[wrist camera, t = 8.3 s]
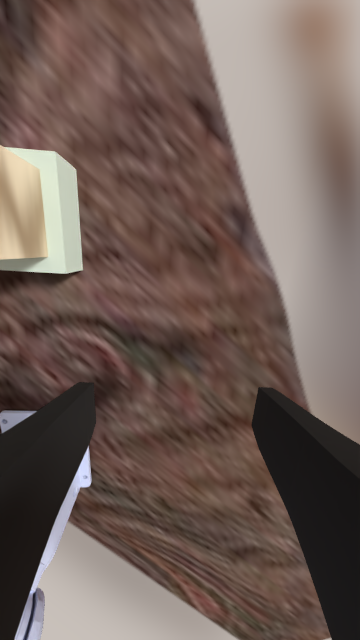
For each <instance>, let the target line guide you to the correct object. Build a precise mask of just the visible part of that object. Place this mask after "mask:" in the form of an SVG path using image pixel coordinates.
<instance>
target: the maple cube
mask: <svg viewBox="0 0 360 640" xmlns="http://www.w3.org/2000/svg"><path fill="white" fill-rule="evenodd" d="M38 257H48V248H47V238H46V228H45V218H44V208H43V198H42V188H41V178H40V169H38V168H36V167H35V166H33V165H32V164H30V163H28V162H27V161H25V160H24V159H22V158H20V157H19V156H17V155H15V154H14V153H12V152H11V151H9V150H7V149H6V148H4V147H3V146H1V145H0V260H1V259H20V258H38Z"/></svg>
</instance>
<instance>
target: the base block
mask: <svg viewBox="0 0 360 640" xmlns="http://www.w3.org/2000/svg"><path fill="white" fill-rule="evenodd" d="M4 148H6V149H7V150H9V151H11V152H12V153H14V154H15V155H17V156H19V157H20V158H22V159H24V160H25V161H27V162H28V163H30V164H32V165H33V166H35V167H36V168H38V169H40V178H41V188H42V198H43V208H44V218H45V228H46V238H47V248H48V257H38V258H20V259H1V260H0V270H8V271H26V272H44V273H62V274H67V273H72V272H76V271H81V270H83V265H82V250H81V235H80V220H79V205H78V190H77V175H76V169H75V168H74V167H73V166H72V165H70V164H69V163H68V162H67V161H66V160H65V159H63V158H62V157H61V156H60V155H59V154H58V153H56V152H54V151H42V150H30V149H19V148H7V147H4Z"/></svg>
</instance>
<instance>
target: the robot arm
mask: <svg viewBox="0 0 360 640" xmlns="http://www.w3.org/2000/svg"><path fill="white" fill-rule="evenodd" d="M6 420H7V421H6ZM95 424H96V415H95V399H94V383H84V382H79V383H77V384H76V385H74V386H73V387H71V388H70V389H68V390H67V391H65V392H64V393H63V394H61V395H60V396H58V397H57V398H55V399H54V400H53V401H51V402H50V403H48V404H47V405H45V406H44V407H42V408H41V409H40V410H38V411H12V410H4V411H2V412H1V413H0V426H1V430H2V434H0V640H40V638H41V634H42V628H43V621H44V606H45V600H44V593H43V591H42V590H41V589H40V588H37V586H38V583H39V581H40V578H41V576H42V573H43V572H44V570H45V569H46V568H47V566H48V565H49V563H50V562H51V560H52V558H53V556H54V554H55V552H56V550H57V547H58V545H59V542H60V539H61V537H62V534H63V532H64V529H65V526H66V524H67V521H68V518H69V516H70V513H71V510H72V508H73V505H74V502H75V500H76V497H77V495H78V492H79V489H80V487H88V486H90V484H91V469H90V456H89V443H90V440H91V437H92V434H93V430H94V427H95ZM252 428H253V432H254V435H255V438H256V441H257V444H258V447H259V450H260V452H261V454H262V456H263V459H264V461H265V463H266V465H267V468H268V470H269V472H270V474H271V476H272V478H273V481H274V483H275V485H276V487H277V489H278V491H279V494H280V496H281V498H282V500H283V502H284V505H285V507H286V509H287V511H288V514H289V516H290V519H291V521H292V524H293V526H294V529H295V532H296V535H297V537H298V540H299V543H300V546H301V548H302V551H303V554H304V557H305V560H306V563H307V565H308V568H309V571H310V574H311V577H312V580H313V583H314V586H315V589H316V592H317V595H318V598H319V601H320V604H321V607H322V610H323V613H324V616H325V619H326V623H327V626H328V629H329V632H330V635H331V638H332V640H360V445H359V444H357V443H356V442H354V441H352V440H351V439H349V438H347V437H346V436H344V435H343V434H341V433H340V432H338V431H336V430H335V429H333V428H332V427H330V426H328V425H327V424H325V423H324V422H322V421H321V420H319V419H318V418H316V417H315V416H313V415H312V414H310V413H309V412H308V411H306V410H305V409H303V408H302V407H300V406H299V405H297V404H296V403H295V402H293V401H292V400H290V399H289V398H287V397H286V396H284V395H283V394H281V393H280V392H278V391H277V390H275V389H273V388H263V387H259V388H258V394H257V399H256V404H255V409H254V415H253V420H252Z"/></svg>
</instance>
